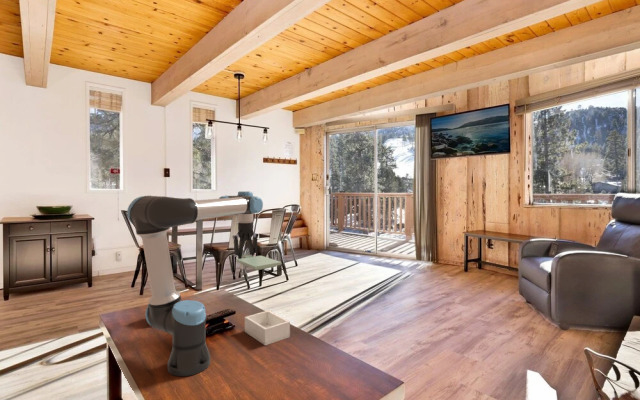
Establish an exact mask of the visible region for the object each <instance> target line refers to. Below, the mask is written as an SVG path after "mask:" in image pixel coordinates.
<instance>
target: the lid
mask: <svg viewBox="0 0 640 400" xmlns="http://www.w3.org/2000/svg"><path fill="white" fill-rule="evenodd" d="M242 256H244V257H243V258H242V259H238V258H236V263H238V264H240V263H241V264H243V265H244V266H246V267H248V268H250V269H253V270H256V271H260V270H265V269H270V268H276V267H277V266H280V265H282V261H279V260H276V259H273V258H270V257H267V256H264V255H256V256H255V255H253V256H250V255H248V254H242Z"/></svg>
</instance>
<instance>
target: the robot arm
mask: <svg viewBox="0 0 640 400" xmlns="http://www.w3.org/2000/svg"><path fill="white" fill-rule="evenodd" d="M263 204H264V202H263V200H262V198H261V197H259V196H254V192H253V191H249V190H246V191H243V190H241V191H238V192H237V195H223V196H220V197H218V198H213V199H198V200H195V199H193V198H189V197H188V198H187V197H186V198H179V197H173V196H161V195H160V196H157V195H144V196H143V195H142V196H138V197H136V198H134V199H133V200H132V201H131V202H130V204H129V205H128V207H127V212H126V216H127V219H128V221H129V222H130V223H131V224H133V225H134V228H135V233H136V235H137V236H138V237H140V238H141V240H142V246H143V251H144V257H145V258H144V259H145V263H146V264H145V265H146V269H147V274H148V281H149V287H150V293H151V296H150V297H149V299H148V302H147V303H148V304H147V307H146V309H145V312H144V314H145V319H146V320H145V321H146V322H147V323H148V325H149V326H151V327H153V329H156V330H157V331H158V330H159V331H162V332H165V333H167V334H169V335H171V336H172V349H171V352H170V355H169V358H168V360H167V372H168V373H169V374H170V375H172V376H175V377H189V376H193V375H197V374H200V373H202V372H203V371H205V370H206V369H208V368H209V366H210V365H211V354H210V350H209V349H208V346H207V343H206V338H207V337H206V335H207V334H206V328H207V327H206V326H207V324H206V323H207V321H206V320H207V319H206V318H207V313H206V307H205V304H203V303H202V302H200V301H198V300H191V299H186V300H182V297H181V293H180V291H179V290H176V287H175V286H176V285H175V278H174V272H173V267H172V260H171V254H170V248H169V242H168V234H167V233H168V231H169V230H170V229H171V228H174V227H180V226H184V225H191V224H194V223H196V221H199V220H200V221H201V220H206V219H215V218H220V217H227V216H233V215H234V216H235V215H237V221H238V223H237V234H235V235H232V240H233V254H234V255H235V256H237V259H242V258H243V257H244V256H242V255H243V252H244V247H245V243H247V247H248V251H249V254H248V255H250V256H253V257H254V256H255V254H257V253H258V239H259V233H256V232H254V214H259V213H261V212H262V211H263V206H264V205H263ZM244 266H245V265H243V264H241V263H239V269H240V270H244V269H245V268H244Z"/></svg>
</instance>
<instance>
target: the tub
mask: <svg viewBox="0 0 640 400" xmlns="http://www.w3.org/2000/svg"><path fill="white" fill-rule="evenodd" d="M244 332H245V333H246V334H247V335H249V336H250V337H252V338H253V339H255V340H256V341H258V342H259V343H261V344H262V345H264V346H267V345H270V344H273V343H276V342H279V341H282V340H285V339H287V338H290V336H291V322H290V320H287V319H286V318H284V317H283V316H280V315H278V314H276V313H275V312H272V311H270V310H266V311H261V312H258V313H254V314H250V315H247V316H244Z"/></svg>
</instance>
